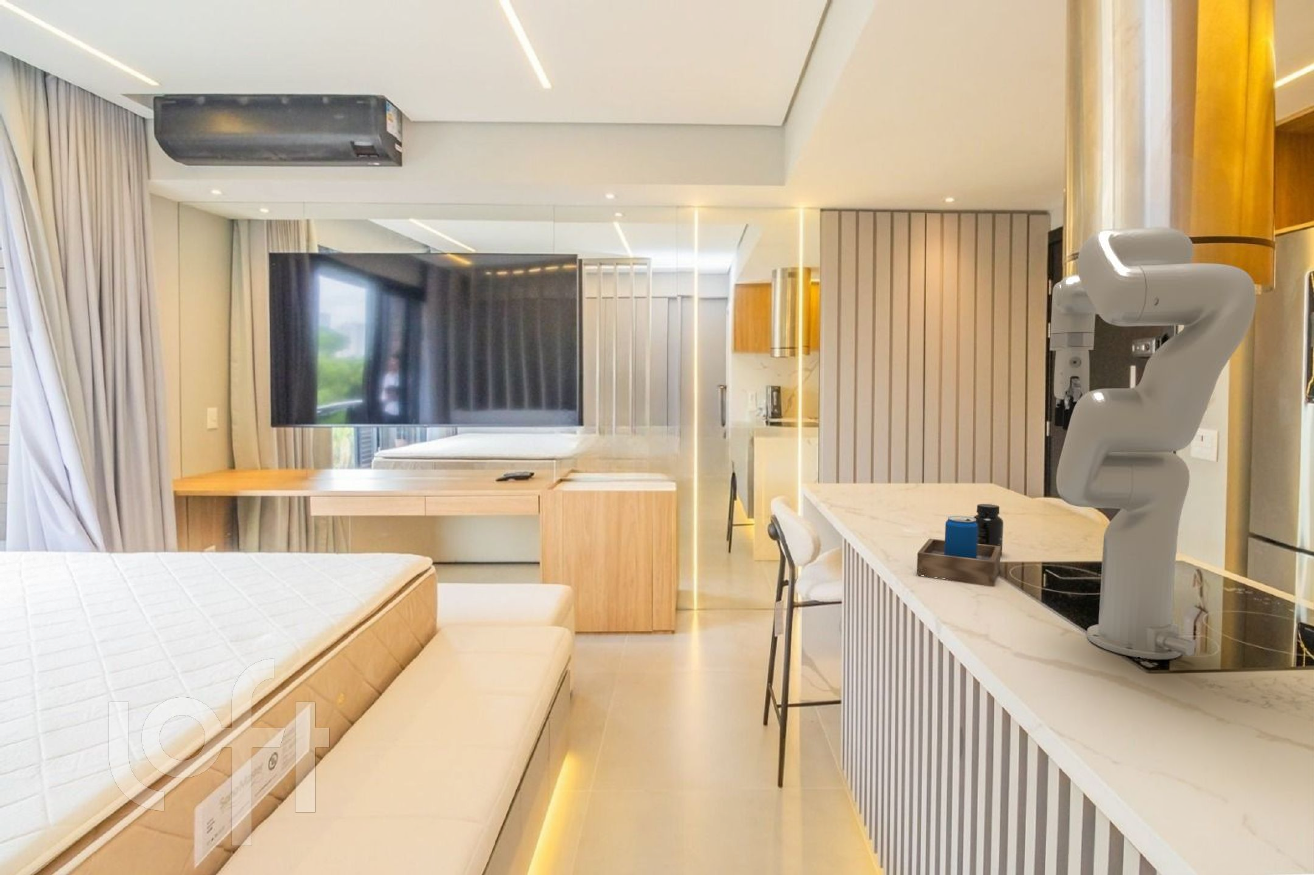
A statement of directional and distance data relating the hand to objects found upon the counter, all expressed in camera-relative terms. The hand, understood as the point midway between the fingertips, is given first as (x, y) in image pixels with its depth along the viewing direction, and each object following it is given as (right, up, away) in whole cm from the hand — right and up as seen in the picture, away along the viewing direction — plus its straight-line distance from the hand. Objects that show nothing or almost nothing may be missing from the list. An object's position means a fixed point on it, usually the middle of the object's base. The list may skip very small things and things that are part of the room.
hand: (1067, 428), depth 141 cm
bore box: (-17, -31, +12) cm, 38 cm away
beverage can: (-17, -32, +11) cm, 38 cm away
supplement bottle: (-4, -30, +26) cm, 40 cm away
